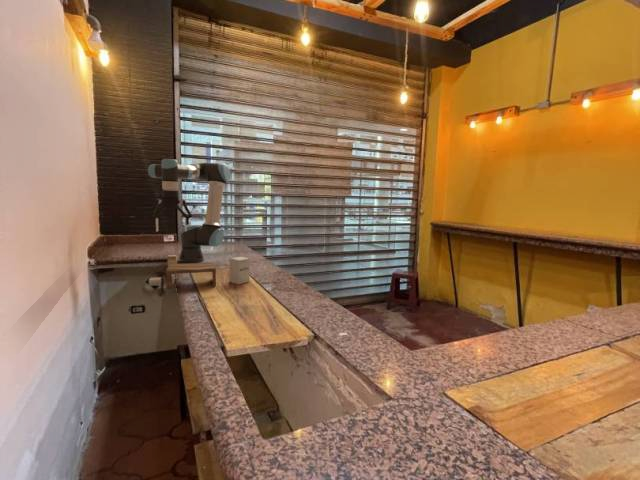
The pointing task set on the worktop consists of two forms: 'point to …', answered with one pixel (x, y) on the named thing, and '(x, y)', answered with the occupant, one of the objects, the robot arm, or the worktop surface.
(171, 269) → the brown wooden stand
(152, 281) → the brown square block
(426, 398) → the worktop surface
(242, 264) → the grey canister
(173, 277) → the tan wood-grain block
